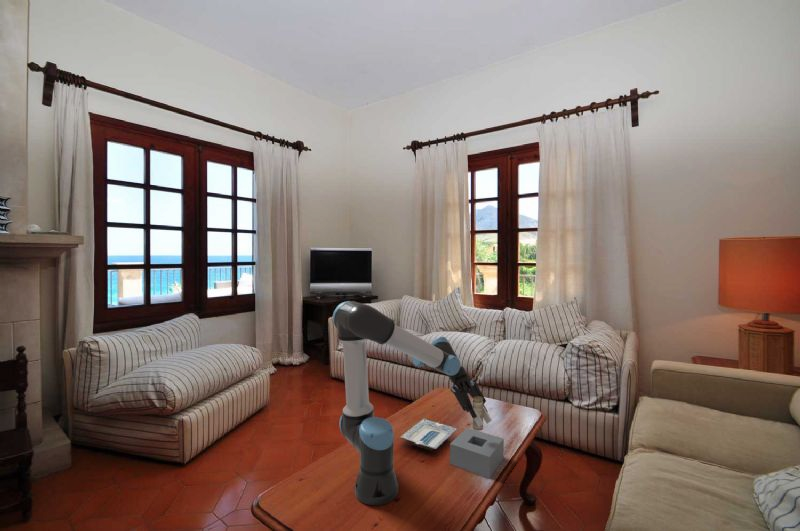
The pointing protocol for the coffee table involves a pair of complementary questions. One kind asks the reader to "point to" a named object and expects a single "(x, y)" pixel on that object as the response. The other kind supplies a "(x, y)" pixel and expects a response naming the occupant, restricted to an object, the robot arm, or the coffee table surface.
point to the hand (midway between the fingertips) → (485, 423)
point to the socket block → (477, 452)
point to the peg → (478, 410)
